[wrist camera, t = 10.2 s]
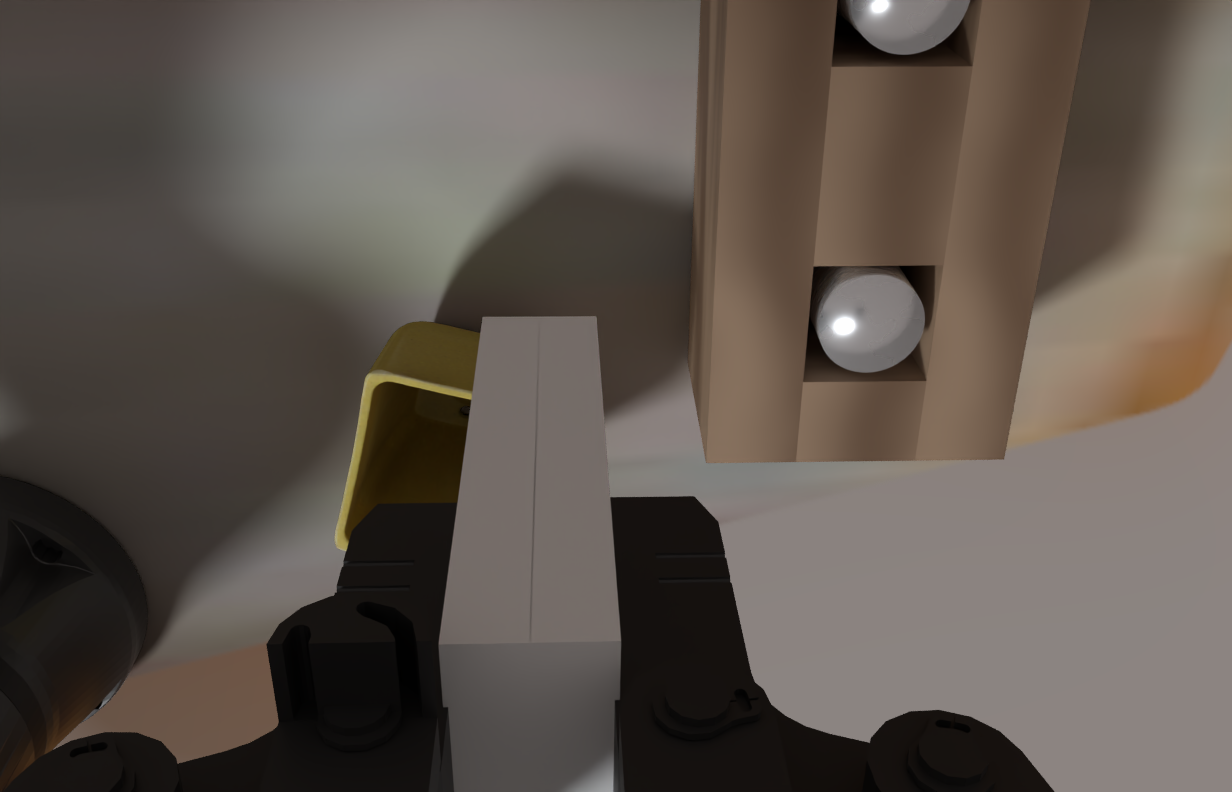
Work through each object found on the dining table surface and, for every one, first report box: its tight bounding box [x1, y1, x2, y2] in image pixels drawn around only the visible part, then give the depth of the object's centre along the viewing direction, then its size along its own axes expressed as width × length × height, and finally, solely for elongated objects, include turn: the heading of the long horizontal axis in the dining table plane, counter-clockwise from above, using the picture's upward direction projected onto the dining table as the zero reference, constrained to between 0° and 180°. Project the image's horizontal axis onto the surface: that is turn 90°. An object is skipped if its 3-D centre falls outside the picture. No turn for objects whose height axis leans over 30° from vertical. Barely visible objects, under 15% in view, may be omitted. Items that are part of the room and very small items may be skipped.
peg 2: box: [809, 266, 925, 373], centre depth 48 cm, size 4×4×9 cm
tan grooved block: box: [688, 0, 1091, 463], centre depth 45 cm, size 12×24×9 cm, turn 0°
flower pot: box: [335, 321, 480, 551], centre depth 51 cm, size 9×9×9 cm
